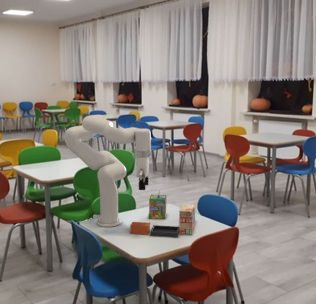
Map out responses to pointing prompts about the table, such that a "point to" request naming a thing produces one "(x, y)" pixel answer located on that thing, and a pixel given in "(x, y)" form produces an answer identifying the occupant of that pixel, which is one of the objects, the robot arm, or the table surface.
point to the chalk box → (157, 206)
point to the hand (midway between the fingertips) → (143, 187)
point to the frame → (164, 231)
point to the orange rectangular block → (140, 228)
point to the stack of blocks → (186, 219)
